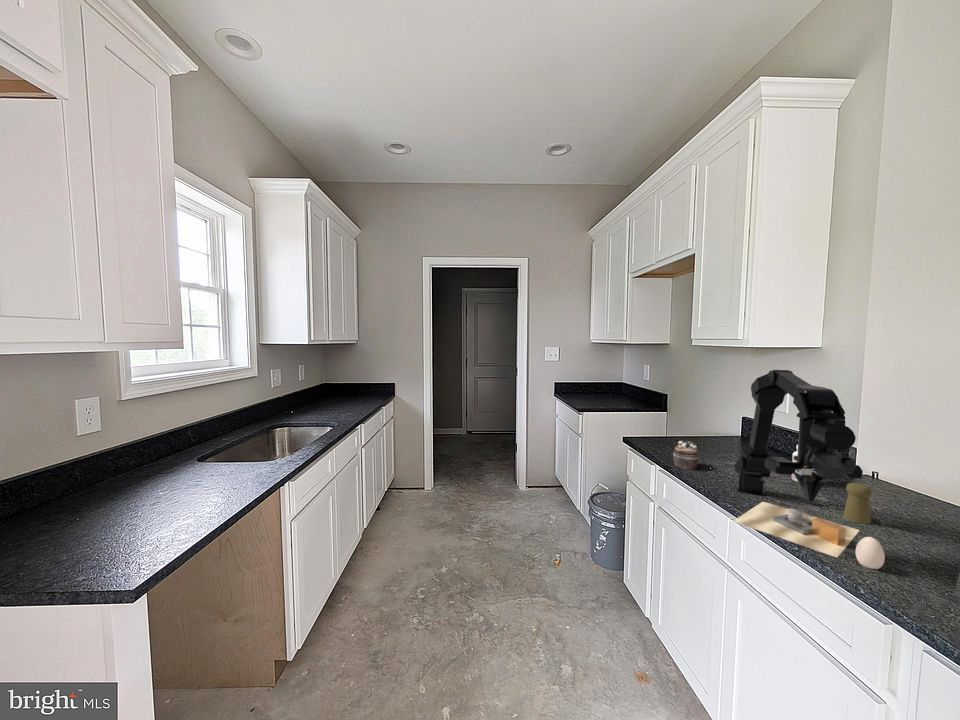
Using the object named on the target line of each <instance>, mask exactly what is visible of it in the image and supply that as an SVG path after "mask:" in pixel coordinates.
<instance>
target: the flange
mask: <svg viewBox="0 0 960 720" xmlns="http://www.w3.org/2000/svg"><path fill="white" fill-rule="evenodd" d="M773 521H775V522H777V523H779V524H781V525H783V526H786V527H788V528H790V529H792V530H794V531H796V532H798V533H800V534H803V535H806V534H814V535H816V536H818V537H820V538H822V539H824V540H827V541H829V542H831V543H833V544H835V545H843V544H845V533H846V528H843V527H841V526H838V525H836V524H834V523H835V522H834V523H831V522H832V521H831V522H829V521H830V520H827V521H826V519H824V518H822V517H817V518H814V519H812V520H810V519H807V518H805V517H802V523H803V524H806V525H808V526H805V527H801V526H799V525H797V524H794V523H792V522H790V521H788V514H787V515H781V516H774V517H773Z"/></svg>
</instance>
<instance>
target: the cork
mask: <svg viewBox="0 0 960 720" xmlns="http://www.w3.org/2000/svg"><path fill="white" fill-rule="evenodd" d="M845 491H846V493H847V498H846V502H845V507H844V510H843V513H842V518H844V519H846V520H847V521H850V522H853V523H856V524H863V525H871V524H872V518H871V509H870V507H871V506H870V502H869V501H870V500H869V499H870V498H871V496H872V494H873V492H872V489H871V488H870V486H868V485H866V484H862V483H857V482H850V483H848V484H846V486H845Z"/></svg>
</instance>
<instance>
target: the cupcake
mask: <svg viewBox="0 0 960 720" xmlns="http://www.w3.org/2000/svg"><path fill="white" fill-rule="evenodd" d="M672 455H673V461H674V466H675V467H677V468H680V469H685V470H696V469H697V468H698V465H699V464H698V463H699V461H700V458H701V456H700V452H699V451H698V447H697V445H696V444H695V443H694V442H693V441H692V440H682V439H681V440H680V441H678V444H677V445H675V447H674V450H673V452H672Z"/></svg>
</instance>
